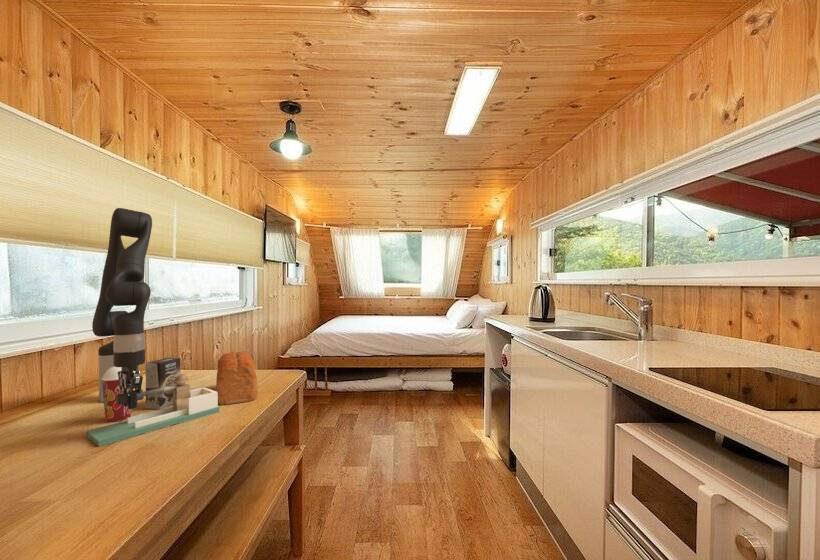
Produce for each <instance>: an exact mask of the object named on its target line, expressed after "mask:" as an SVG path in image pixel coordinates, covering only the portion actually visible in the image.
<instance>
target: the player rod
mask: <svg viewBox="0 0 820 560" xmlns="http://www.w3.org/2000/svg"><path fill="white" fill-rule="evenodd" d="M188 380H189V377H188V375H187V374H184V373H180V375H178V376H177V377H176V378H175V383H176V384H177V385H173V386H168V387H163V388H159V389H154V390H149V391H146V390H144V389H142V388H141V393H140V394H138V395H137V402H138V401H142V400H144V397H146V396H148V395H152V394H157V393H161V392H166V391H170V390H173V404H172V406H173V411H174V412H175V411H179V410H182V409H187V410H188V398H190V390H191V385H190V384H189V383H188ZM186 383H187V384H186ZM116 402H117V405H120V404H125V403H127V393H122V394H117V395H116Z"/></svg>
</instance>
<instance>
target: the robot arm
mask: <svg viewBox="0 0 820 560" xmlns="http://www.w3.org/2000/svg"><path fill="white" fill-rule="evenodd" d="M152 228H153V218H152V216H151V214H149V213H147V212H142V211H137V210H132V209H127V208H123V207H117V208H115V209H114V210H113V213H112V216H111V220H110V227H109V229H110V230H109V238H108V247H107V253H106V257H105V258H106V259H105V262H104V266H103V270H102V271H103V272H102V276H101V284H100V285H101V286H100V291H99V298H98V301H97V304H96V308H95V311H94V315H93V319H92V325H91V326H92V333H93V334H94V335H95V336H96V337H111V336H114V337H113V340H112V341H110V342H108V343H106V344H104V345H103V344H102V345H101V346H99V348H98V355H97V356H98V402H99V403H104V399H103V388H102V380H101V379H102V378H103V376H104V374H105V372H106V371H107V370H108V369H110V368H111V367H113V366H115V367H122V368H121V371H118V378H119V385H120V390H121V391H122V393H127V403H125V404H123V405H124V406H125V407H127V406H128V409H132V410H133V409H136V408H137V407H138V401H137V395H138V394H140V393H141V389H142V387H143V385H142V384H143V379H144V376H143V375H141V371H140V370H139V366H140V365H143V364H146V338H145V333H144V331H145V314H146V309H147V305H148V303H149V300H150V298H151V290H152V289H151V287H150V286H149V284H147V282H145V281H143V279H144V277H145V267H146V266H145V265H146V263H145V262H146V257H147V256H146V255H147V252H148V248H149V245H150V244H149V243H150V240H151V233H152ZM122 237H127V238H134V239H136V241H134V242H133V243H132V244H130V245H129V246H127V247H125V246H124V244H123V241H122ZM122 306H123V307H125V306H126V307H127V306H135V308H134V310H132V311H130V312H128V311H126V310H115V311H114V310H113V311H112V308H113V307H122Z"/></svg>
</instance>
